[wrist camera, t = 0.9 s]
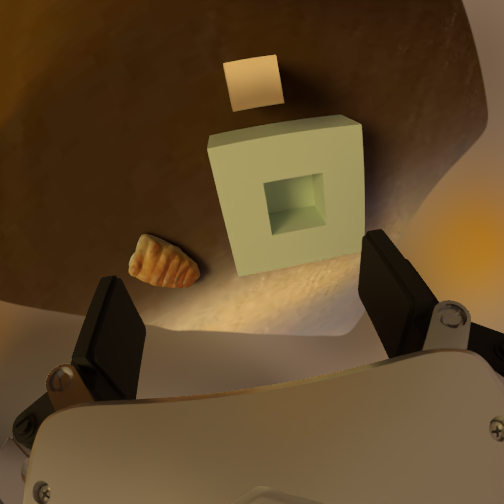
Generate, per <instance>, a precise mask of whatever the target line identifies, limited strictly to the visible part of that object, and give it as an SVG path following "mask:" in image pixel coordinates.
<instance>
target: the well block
mask: <svg viewBox="0 0 504 504" xmlns="http://www.w3.org/2000/svg"><path fill="white" fill-rule="evenodd" d="M207 151H208V155H209V159H210V163H211V167H212V172H213V176H214V180H215V184H216V188H217V192H218V196H219V200H220V204H221V209H222V213H223V217H224V221H225V225H226V229H227V233H228V237H229V241H230V245H231V249H232V253H233V257H234V261H235V265H236V268H237V272H238V276H239V277H240V276H245V275H250V274H255V273H260V272H265V271H270V270H275V269H281V268H286V267H291V266H295V265H300V264H305V263H310V262H315V261H320V260H325V259H330V258H335V257H339V256H344V255H349V254H354V253H358V252H361V249H362V237H363V236H365V186H364V156H363V138H362V124H360V123H358V122H356V121H354V120H352V119H349V118H347V117H345V116H343V115H331V116H323V117H314V118H307V119H299V120H292V121H285V122H279V123H273V124H267V125H261V126H255V127H250V128H245V129H239V130H234V131H229V132H224V133H220V134H215V135H211V136H209V141H208V147H207Z"/></svg>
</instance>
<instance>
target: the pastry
mask: <svg viewBox="0 0 504 504" xmlns="http://www.w3.org/2000/svg"><path fill="white" fill-rule="evenodd" d="M129 273H130V275H131V276H135V277H137V278H138V279H140V280H142V281H143V282H147V283H150V284H152V285H153V286H161V287H173V288H176V287H177V288H182V287H186V288H187V287H189V286H191V285H193V284H194V282H195V281H196V280H197V279H198V278H199V277H200V272H199V269H198V265H197V263H195V262H194V261H193V260H192V259H191V258H189V257H188V256H187V255H186V254H185V253H183V252H182V251H181V249H180V248H179V247H177V246H173V245H172V244H170V243H168V242H166V241H164V240H163V239H160V238H158V237H155V236H153V235H149V234H143V235H141V237H140V239H139V241H138V243H137V247H136V252H135V253H134V254H133V255H132V256H131V259H130V262H129Z"/></svg>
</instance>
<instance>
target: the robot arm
mask: <svg viewBox="0 0 504 504" xmlns="http://www.w3.org/2000/svg"><path fill="white" fill-rule="evenodd" d="M358 293H359V297H360V299H361V301H362V303H363V305H364V307H365V309H366V311H367V313H368V315H369V317H370V319H371V321H372V323H373V325H374V327H375V329H376V331H377V334H378V336H379V338H380V340H381V342H382V344H383V346H384V348H385V351H386V353H387V355H388V357H389V359H387V360H383V361H379V362H375V363H371V364H367V365H364V366H359V367H356V368H351V369H347V370H343V371H339V372H334V373H330V374H326V375H321V376H317V377H312V378H307V379H302V380H297V381H291V382H286V383H280V384H275V385H269V386H263V387H257V388H250V389H243V390H235V391H228V392H221V393H211V394H202V395H192V396H181V397H168V398H153V399H137V400H136V394H137V387H138V379H139V373H140V366H141V360H142V353H143V348H144V342H145V336H146V328H145V325H144V323H143V321H142V319H141V317H140V315H139V313H138V312H137V310H136V308H135V306H134V304H133V302H132V300H131V298H130V296H129V294H128V292H127V290H126V288H125V285H124V283H123V281H122V280H121V279H120V278H119V279H118V278H117V277H116V276H108V277H103V278H101V280H100V282H99V284H98V287H97V289H96V292H95V294H94V297H93V299H92V302H91V304H90V307H89V310H88V312H87V315H86V318H85V320H84V323H83V326H82V329H81V332H80V334H79V337H78V340H77V343H76V346H75V349H74V352H73V355H72V361H71V364H61V365H58V366H57V367H55V368H54V369H53V370H52V371H51V372H50V373H49V375H48V377H47V379H46V390H47V392H46V393H45V394H44V395H43V396H42V397H40V398H39V399H38V400H37V401H35V402H34V403H33V404H32V405H31V406H29V407H28V408H27V409H26V410H24V411H23V412H22V413H21V414H20V415H19V416H18V417H17V418H16V420H15V422H14V424H13V436H14V437H13V438H10V437H9V438H8V440H7V441H6V442H5V444H4V445H3V447H2V448H1V450H0V499H1V500H2V501H3V503H4V504H504V334H503V333H501V332H498V331H495V330H492V329H489V328H487V327H484V326H481V325H478V324H476V323H473V322H471V316H470V313H469V311H468V310H467V309H466V308H465V307H464V306H463V305H462V304H460V303H458V302H455V301H450V300H448V301H442V302H440V303H439V302H438V300H437V299H436V297H435V296H434V294H433V293H432V292H431V290H430V289H429V287H428V286H427V285H426V283H425V282H424V281H423V279H422V278H421V277H420V275H419V274H418V272H417V271H416V270H415V268H414V267H413V266H412V264H411V263H410V262H409V261H408V260H407V259H405V258H404V257H403V255H402V254H401V253H400V252H399V250H398V249H397V248H396V246H395V245H394V244H393V242H392V241H391V240H390V239H389V237H388V236H387V235H386V234H385V232H384V231H383V230H382V229H378V230H372V231H368V232H367V233H366V236H363V237H362V249H361V262H360V275H359V285H358Z"/></svg>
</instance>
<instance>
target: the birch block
mask: <svg viewBox="0 0 504 504" xmlns="http://www.w3.org/2000/svg"><path fill="white" fill-rule="evenodd" d="M223 67H224V72H225V77H226V81H227V86H228V91H229V96H230V101H231V105H232V109H233V112H234V111H239V110H244V109H250V108H256V107H261V106H268V105H274V104H281V103H284V99H283V93H282V87H281V81H280V75H279V69H278V63H277V58H276V55H270V56H263V57H256V58H250V59H244V60H238V61H232V62H227V63H223Z"/></svg>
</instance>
